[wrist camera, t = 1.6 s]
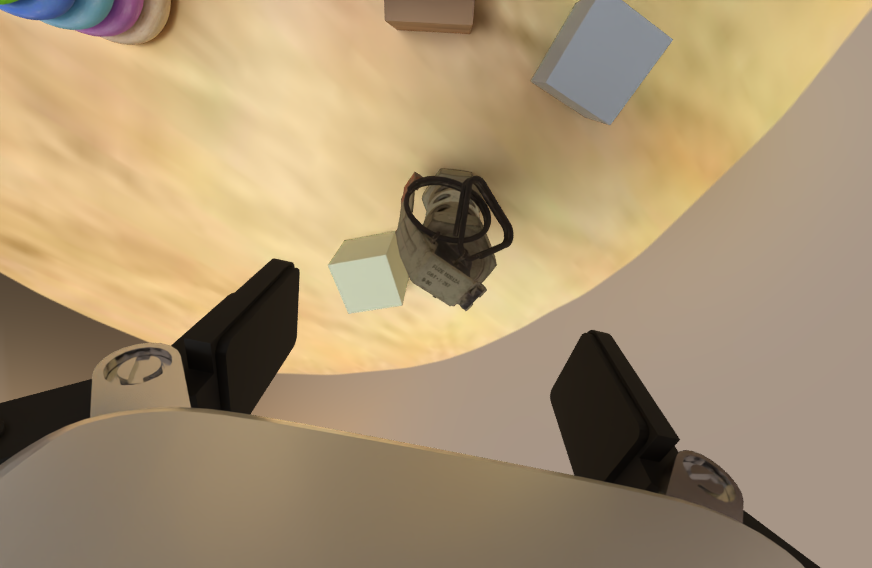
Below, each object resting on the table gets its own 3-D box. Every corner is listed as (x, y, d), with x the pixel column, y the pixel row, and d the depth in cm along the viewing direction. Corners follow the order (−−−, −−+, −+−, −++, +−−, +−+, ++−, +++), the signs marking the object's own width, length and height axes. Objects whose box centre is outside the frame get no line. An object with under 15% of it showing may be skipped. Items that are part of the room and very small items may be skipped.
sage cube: (344, 240, 32) (327, 265, 28) (395, 230, 32) (385, 254, 27) (361, 284, 35) (348, 313, 31) (409, 276, 34) (402, 305, 30)
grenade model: (506, 169, 28) (549, 247, 15) (455, 232, 31) (454, 341, 18) (444, 118, 26) (432, 159, 14) (396, 190, 29) (350, 279, 17)
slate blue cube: (575, 3, 23) (603, -14, 18) (633, 46, 24) (673, 39, 19) (530, 81, 25) (545, 82, 21) (584, 117, 26) (610, 125, 22)
